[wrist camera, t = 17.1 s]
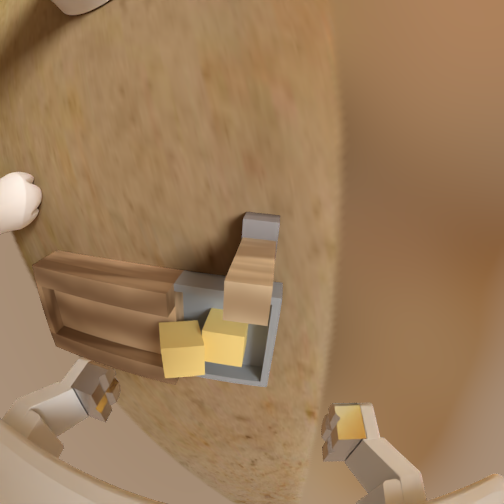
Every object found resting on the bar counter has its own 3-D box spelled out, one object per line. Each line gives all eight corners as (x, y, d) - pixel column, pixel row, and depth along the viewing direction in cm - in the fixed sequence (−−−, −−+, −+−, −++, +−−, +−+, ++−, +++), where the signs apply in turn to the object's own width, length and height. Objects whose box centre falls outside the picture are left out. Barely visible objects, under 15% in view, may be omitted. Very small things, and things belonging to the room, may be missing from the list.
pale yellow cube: (201, 330, 25) (244, 337, 25) (211, 307, 29) (249, 313, 29) (202, 360, 27) (241, 367, 26) (211, 337, 30) (246, 342, 30)
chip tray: (183, 270, 28) (173, 283, 25) (282, 282, 27) (282, 298, 25) (187, 356, 33) (180, 373, 30) (268, 369, 32) (266, 387, 29)
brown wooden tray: (57, 250, 29) (32, 265, 25) (183, 270, 28) (166, 294, 23) (74, 326, 34) (56, 346, 29) (187, 356, 33) (175, 384, 28)
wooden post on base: (246, 211, 25) (224, 254, 16) (279, 215, 25) (278, 261, 15) (241, 271, 28) (220, 339, 18) (272, 275, 27) (266, 345, 18)
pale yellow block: (158, 322, 26) (160, 348, 23) (197, 320, 28) (204, 345, 24) (162, 351, 28) (165, 378, 24) (198, 349, 29) (205, 374, 26)
